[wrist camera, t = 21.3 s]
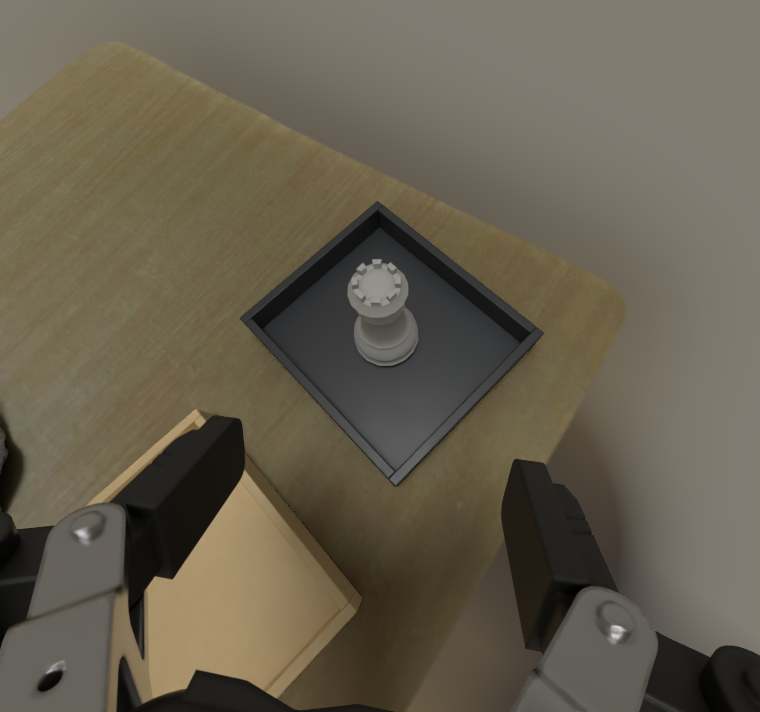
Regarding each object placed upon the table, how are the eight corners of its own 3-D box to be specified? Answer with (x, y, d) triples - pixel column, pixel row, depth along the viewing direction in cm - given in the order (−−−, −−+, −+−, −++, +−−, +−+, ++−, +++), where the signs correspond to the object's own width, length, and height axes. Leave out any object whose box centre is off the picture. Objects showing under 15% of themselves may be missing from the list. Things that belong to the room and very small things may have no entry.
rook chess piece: (395, 298, 28) (389, 228, 20) (431, 345, 26) (438, 290, 19) (343, 330, 27) (316, 271, 20) (376, 380, 26) (361, 337, 18)
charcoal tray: (532, 346, 26) (544, 332, 24) (397, 486, 24) (395, 487, 22) (380, 222, 31) (377, 200, 28) (253, 331, 28) (239, 317, 26)
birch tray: (363, 598, 22) (357, 612, 20) (181, 794, 20) (150, 836, 18) (214, 414, 27) (195, 408, 24) (52, 559, 24) (14, 567, 22)
